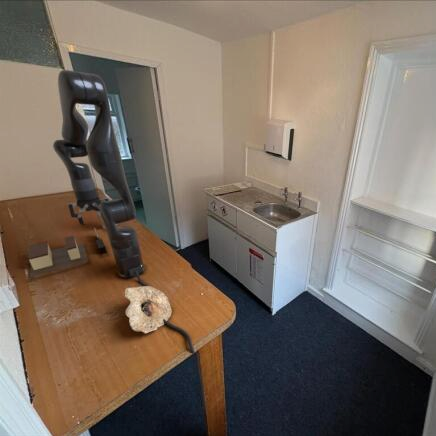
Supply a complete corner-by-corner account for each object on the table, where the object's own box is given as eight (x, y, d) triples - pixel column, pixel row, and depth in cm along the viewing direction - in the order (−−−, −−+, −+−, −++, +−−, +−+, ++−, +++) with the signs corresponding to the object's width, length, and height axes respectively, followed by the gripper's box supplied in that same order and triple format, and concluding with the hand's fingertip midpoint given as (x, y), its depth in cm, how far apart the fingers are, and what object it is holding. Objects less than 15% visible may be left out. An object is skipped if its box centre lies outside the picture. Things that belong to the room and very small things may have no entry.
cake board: (89, 263, 104) (88, 261, 104) (31, 280, 93) (30, 277, 92) (84, 245, 117) (83, 242, 116) (32, 257, 105) (31, 254, 105)
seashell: (175, 330, 84) (181, 318, 81) (128, 349, 73) (133, 336, 69) (158, 290, 92) (163, 278, 89) (114, 302, 81) (118, 288, 78)
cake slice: (80, 257, 105) (76, 246, 103) (71, 260, 103) (66, 248, 101) (77, 246, 113) (73, 235, 110) (68, 248, 111) (64, 237, 108)
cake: (52, 265, 99) (47, 253, 97) (33, 270, 96) (28, 258, 93) (51, 252, 107) (47, 241, 104) (34, 257, 103) (29, 245, 101)
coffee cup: (115, 223, 140) (109, 200, 133) (124, 228, 135) (118, 204, 129) (96, 229, 132) (88, 204, 126) (105, 234, 128) (97, 209, 121)
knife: (107, 255, 111) (104, 244, 108) (101, 257, 109) (97, 245, 106) (100, 237, 124) (97, 227, 121) (95, 239, 122) (91, 228, 120)
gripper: (62, 193, 92) (75, 229, 99) (106, 187, 102) (115, 220, 108) (61, 188, 97) (74, 223, 104) (103, 183, 106) (112, 215, 113)
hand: (95, 222), depth 106 cm, fingers open, 8 cm apart
